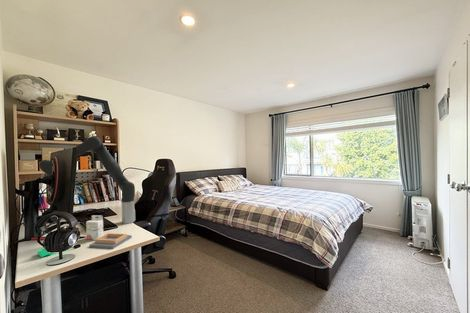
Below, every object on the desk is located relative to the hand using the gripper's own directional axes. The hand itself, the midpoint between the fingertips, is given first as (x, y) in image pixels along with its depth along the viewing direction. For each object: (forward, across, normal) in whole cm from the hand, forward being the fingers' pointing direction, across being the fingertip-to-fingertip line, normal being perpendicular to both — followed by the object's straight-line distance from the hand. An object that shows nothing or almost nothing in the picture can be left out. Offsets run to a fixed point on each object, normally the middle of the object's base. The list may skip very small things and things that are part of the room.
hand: (78, 200), depth 138 cm
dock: (+38, -7, -4) cm, 39 cm away
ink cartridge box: (+28, -2, +8) cm, 29 cm away
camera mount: (+22, -22, +14) cm, 34 cm away
